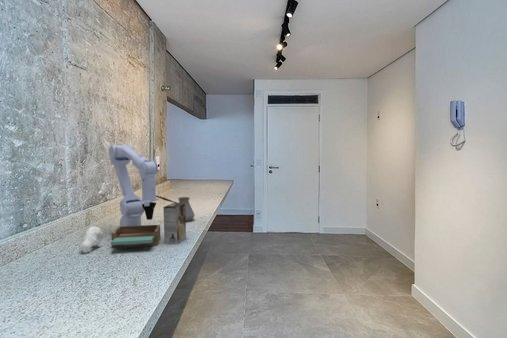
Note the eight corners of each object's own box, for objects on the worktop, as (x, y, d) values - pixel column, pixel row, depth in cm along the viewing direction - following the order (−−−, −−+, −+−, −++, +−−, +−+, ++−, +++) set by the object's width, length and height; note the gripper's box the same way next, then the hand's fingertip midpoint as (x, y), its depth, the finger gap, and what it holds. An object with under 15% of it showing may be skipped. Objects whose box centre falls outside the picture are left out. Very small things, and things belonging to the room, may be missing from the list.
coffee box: (173, 237, 146) (172, 202, 145) (186, 238, 145) (185, 203, 143) (163, 243, 137) (163, 206, 136) (177, 244, 136) (176, 207, 134)
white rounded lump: (103, 224, 134) (90, 235, 122) (104, 243, 136) (92, 256, 124) (87, 225, 134) (73, 235, 122) (89, 244, 135) (75, 256, 123)
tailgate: (115, 238, 130) (110, 241, 124) (153, 236, 133) (151, 239, 126) (115, 242, 130) (110, 246, 124) (153, 240, 133) (151, 244, 126)
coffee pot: (193, 217, 186) (193, 192, 185) (195, 222, 176) (195, 195, 174) (155, 220, 180) (154, 194, 179) (155, 224, 169) (154, 197, 168)
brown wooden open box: (118, 239, 142) (118, 226, 142) (160, 237, 146) (160, 224, 145) (112, 248, 131) (111, 233, 130) (157, 245, 134) (157, 231, 133)
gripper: (156, 191, 134) (157, 222, 135) (160, 186, 148) (160, 215, 149) (138, 191, 132) (139, 223, 133) (144, 187, 147) (145, 216, 148)
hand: (149, 219), depth 141 cm, fingers closed
